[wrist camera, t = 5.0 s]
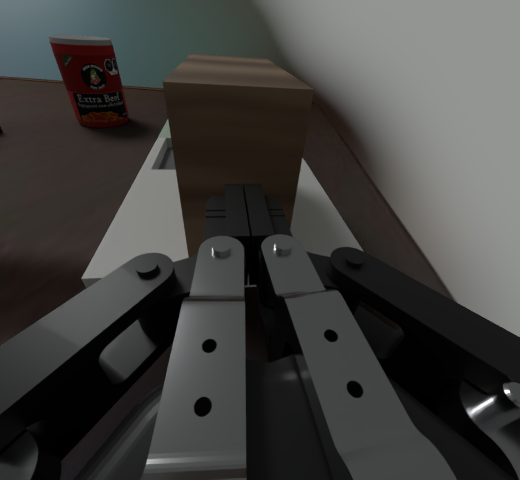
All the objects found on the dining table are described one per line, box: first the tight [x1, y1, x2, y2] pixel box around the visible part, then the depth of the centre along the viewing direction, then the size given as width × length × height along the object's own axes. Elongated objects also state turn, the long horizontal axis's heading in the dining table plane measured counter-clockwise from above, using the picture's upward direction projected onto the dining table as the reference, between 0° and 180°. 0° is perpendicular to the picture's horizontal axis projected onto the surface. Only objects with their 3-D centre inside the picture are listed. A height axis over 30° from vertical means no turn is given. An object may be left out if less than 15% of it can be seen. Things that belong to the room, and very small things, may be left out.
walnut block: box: [163, 54, 314, 257], centre depth 19 cm, size 14×6×10 cm, turn 7°
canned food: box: [49, 35, 128, 128], centre depth 40 cm, size 8×8×11 cm
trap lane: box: [82, 120, 364, 288], centre depth 32 cm, size 40×18×2 cm, turn 7°
